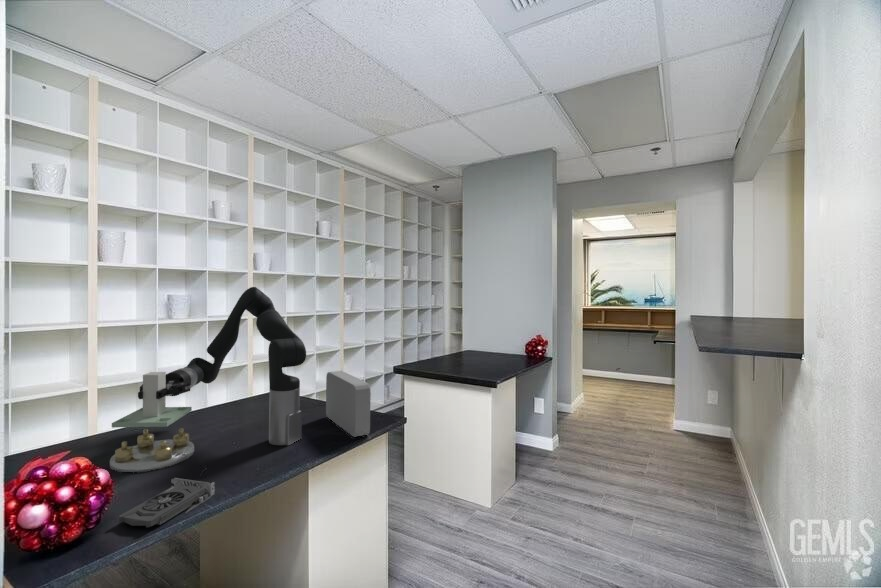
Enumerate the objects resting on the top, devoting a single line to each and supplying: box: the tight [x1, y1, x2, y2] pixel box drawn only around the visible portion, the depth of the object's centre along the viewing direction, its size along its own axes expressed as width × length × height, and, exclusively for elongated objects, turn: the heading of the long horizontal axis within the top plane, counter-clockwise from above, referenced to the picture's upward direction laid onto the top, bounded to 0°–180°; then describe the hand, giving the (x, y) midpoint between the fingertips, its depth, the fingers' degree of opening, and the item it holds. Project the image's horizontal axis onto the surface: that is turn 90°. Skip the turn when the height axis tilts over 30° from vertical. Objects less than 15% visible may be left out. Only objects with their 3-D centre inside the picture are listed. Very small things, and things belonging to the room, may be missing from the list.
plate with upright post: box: [111, 371, 192, 429], centre depth 118 cm, size 14×14×13 cm
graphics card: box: [118, 477, 216, 528], centre depth 92 cm, size 17×4×12 cm
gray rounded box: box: [325, 370, 372, 437], centre depth 148 cm, size 29×8×18 cm, turn 35°
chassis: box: [109, 427, 195, 474], centre depth 119 cm, size 20×20×6 cm
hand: (148, 395), depth 116 cm, fingers closed on plate with upright post, 4 cm apart
